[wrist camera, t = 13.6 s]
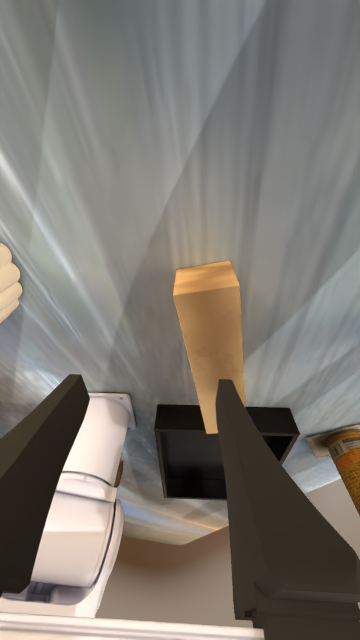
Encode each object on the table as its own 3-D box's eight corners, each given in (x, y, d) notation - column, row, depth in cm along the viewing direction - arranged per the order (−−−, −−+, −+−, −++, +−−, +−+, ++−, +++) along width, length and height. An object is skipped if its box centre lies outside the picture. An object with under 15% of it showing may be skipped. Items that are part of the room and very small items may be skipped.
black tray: (165, 476, 43) (164, 498, 40) (157, 404, 30) (154, 429, 27) (256, 479, 42) (260, 502, 40) (289, 407, 29) (300, 434, 26)
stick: (204, 400, 29) (206, 434, 25) (176, 269, 19) (172, 295, 15) (239, 397, 28) (246, 431, 24) (229, 260, 18) (239, 284, 14)
